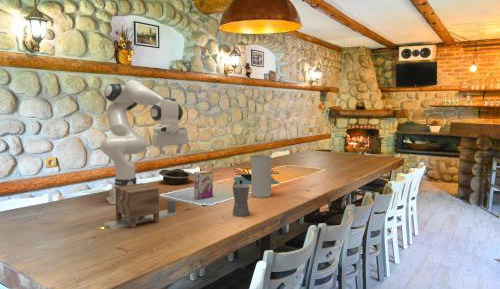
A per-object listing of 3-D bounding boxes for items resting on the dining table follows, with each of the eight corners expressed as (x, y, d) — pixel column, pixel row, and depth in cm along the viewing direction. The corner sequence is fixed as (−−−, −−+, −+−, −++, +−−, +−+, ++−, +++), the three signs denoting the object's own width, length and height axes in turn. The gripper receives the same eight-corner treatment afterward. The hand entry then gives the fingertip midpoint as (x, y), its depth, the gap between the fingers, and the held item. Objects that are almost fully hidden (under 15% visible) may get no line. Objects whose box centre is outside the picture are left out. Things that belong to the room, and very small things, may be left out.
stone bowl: (160, 179, 292) (161, 167, 291) (193, 181, 295) (194, 169, 294) (156, 185, 267) (157, 172, 267) (192, 187, 270) (193, 174, 269)
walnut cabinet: (114, 219, 188) (113, 187, 187) (142, 214, 198) (141, 183, 196) (129, 228, 175) (128, 193, 173) (159, 222, 185) (158, 188, 183)
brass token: (94, 228, 176) (94, 226, 175) (105, 226, 179) (105, 224, 179) (97, 231, 172) (97, 229, 172) (109, 229, 175) (109, 227, 175)
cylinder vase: (260, 199, 231) (260, 158, 228) (247, 195, 240) (247, 156, 238) (275, 196, 239) (275, 156, 237) (261, 192, 248) (261, 154, 246)
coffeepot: (254, 216, 194) (254, 181, 193) (237, 218, 190) (237, 183, 189) (242, 209, 208) (242, 176, 207) (226, 211, 204) (226, 178, 203)
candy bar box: (198, 199, 229) (198, 173, 227) (193, 198, 232) (193, 172, 231) (213, 196, 237) (213, 170, 235) (208, 195, 240) (208, 169, 239)
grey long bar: (170, 211, 203) (169, 198, 203) (178, 214, 197) (177, 201, 197) (103, 225, 180) (103, 211, 179) (110, 229, 174) (110, 214, 173)
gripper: (184, 127, 213) (184, 151, 215) (150, 128, 200) (151, 154, 201) (190, 127, 208) (190, 152, 210) (156, 128, 195) (156, 155, 196)
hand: (170, 153), depth 205 cm, fingers open, 8 cm apart
